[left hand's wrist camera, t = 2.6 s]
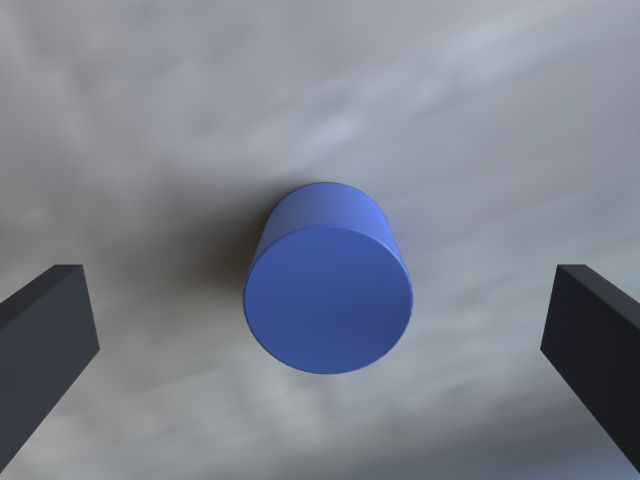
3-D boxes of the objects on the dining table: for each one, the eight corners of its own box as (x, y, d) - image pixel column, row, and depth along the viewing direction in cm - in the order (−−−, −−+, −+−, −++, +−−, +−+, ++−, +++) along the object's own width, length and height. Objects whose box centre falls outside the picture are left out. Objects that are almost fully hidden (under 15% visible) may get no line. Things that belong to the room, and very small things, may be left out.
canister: (269, 173, 15) (249, 213, 11) (402, 191, 15) (431, 237, 11) (257, 292, 16) (236, 365, 12) (378, 307, 17) (395, 384, 13)
